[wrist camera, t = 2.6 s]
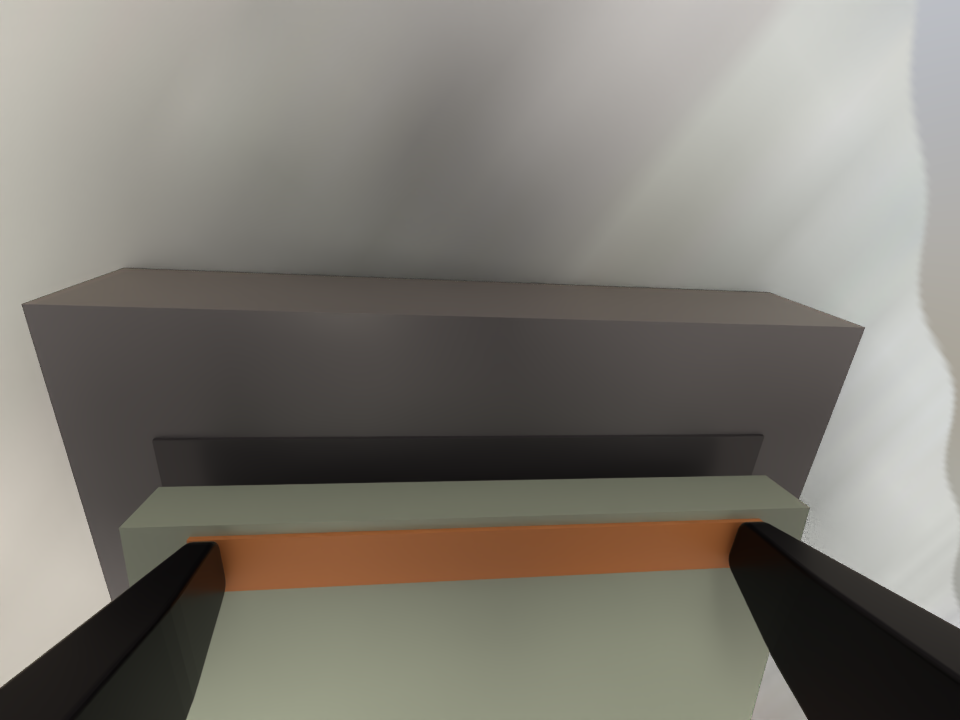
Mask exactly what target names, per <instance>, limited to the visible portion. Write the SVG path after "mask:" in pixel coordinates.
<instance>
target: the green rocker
mask: <svg viewBox="0 0 960 720" xmlns="http://www.w3.org/2000/svg"><path fill="white" fill-rule="evenodd" d="M809 509H810V507H808V506H807V505H806V504H804V503H803V502H802V501H800V500H799V499H797V498H796V497H795V496H793V495H792V494H791V493H789V492H788V491H787V490H785V489H784V488H782V487H781V486H780V485H778V484H777V483H776V482H774V481H773V480H772V479H770V478H769V477H767V476H766V475H754V476H702V477H650V478H598V479H547V480H495V481H443V482H391V483H339V484H287V485H235V486H183V487H158V488H157V489H156V490H155V491H154V492H153V493H152V494H151V495H150V496H149V497H148V498H147V500H146V501H145V502H144V503H143V504H142V505H141V506H140V507H139V508H138V509H137V510H136V511H135V512H134V513H133V514H132V515H131V516H130V517H129V518H128V519H127V520H126V521H125V522H124V523H123V524H122V525H121V526H120V527H119V531H120V537H121V542H122V548H123V553H124V559H125V564H126V570H127V575H128V581H129V586H130V587H131V586H132V585H133V584H135V583H136V582H137V581H138V580H140V579H141V578H142V577H144V576H145V575H146V574H147V573H149V572H150V571H151V570H153V569H154V568H155V567H157V566H158V565H159V564H160V563H162V562H163V561H164V560H166V559H167V558H168V557H169V556H171V555H172V554H173V553H175V552H176V551H177V550H178V549H180V548H181V547H182V546H184V545H185V544H187V543H190V542H203V541H214V542H216V543H217V544H218V545H219V548H220V553H221V558H222V563H223V569H224V574H225V580H226V586H225V593H224V597H223V601H222V604H221V608H220V611H219V615H218V618H217V622H216V625H215V629H214V632H213V636H212V639H211V642H210V646H209V649H208V653H207V656H206V660H205V663H204V667H203V670H202V674H201V677H200V681H199V684H198V687H197V691H196V694H195V697H194V700H193V703H192V705H191V708H190V711H189V714H188V716H187V719H186V720H751V717H752V713H753V709H754V706H755V702H756V699H757V695H758V691H759V688H760V684H761V681H762V677H763V674H764V670H765V666H766V663H767V659H768V656H769V650H768V648H767V646H766V644H765V642H764V640H763V638H762V636H761V634H760V631H759V629H758V627H757V625H756V623H755V621H754V619H753V617H752V614H751V612H750V610H749V608H748V606H747V604H746V602H745V600H744V597H743V595H742V593H741V591H740V589H739V587H738V585H737V583H736V580H735V578H734V576H733V574H732V572H731V569H730V566H729V553H730V550H731V547H732V545H733V542H734V539H735V536H736V533H737V530H738V528H739V526H740V525H741V524H742V523H744V522H760V521H761V522H766V523H769V524H771V525H773V526H774V527H776V528H778V529H780V530H782V531H783V532H785V533H787V534H789V535H791V536H792V537H794V538H796V539H798V540H800V541H801V537H802V534H803V530H804V526H805V523H806V519H807V516H808V512H809Z"/></svg>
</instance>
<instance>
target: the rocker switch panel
mask: <svg viewBox="0 0 960 720" xmlns="http://www.w3.org/2000/svg"><path fill="white" fill-rule="evenodd" d="M22 307H23V311H24V314H25V317H26V321H27V324H28V327H29V330H30V334H31V337H32V340H33V344H34V347H35V350H36V354H37V357H38V360H39V363H40V367H41V370H42V373H43V377H44V380H45V383H46V387H47V390H48V393H49V396H50V400H51V403H52V406H53V410H54V413H55V416H56V420H57V423H58V426H59V429H60V433H61V436H62V439H63V443H64V446H65V449H66V453H67V456H68V459H69V462H70V466H71V469H72V472H73V476H74V479H75V482H76V486H77V489H78V492H79V495H80V499H81V502H82V505H83V509H84V512H85V515H86V519H87V522H88V525H89V528H90V532H91V535H92V538H93V542H94V545H95V548H96V551H97V555H98V558H99V561H100V565H101V568H102V571H103V575H104V578H105V581H106V584H107V588H108V591H109V594H110V598H111V601H113V600H114V599H115V598H117V597H118V596H119V595H120V594H122V593H123V592H124V591H126V590H127V589H128V588H129V587H130V586H129V581H128V575H127V570H126V564H125V559H124V553H123V548H122V542H121V537H120V531H119V527H120V526H121V525H122V524H123V523H124V522H125V521H126V520H127V519H128V518H129V517H130V516H131V515H132V514H133V513H134V512H135V511H136V510H137V509H138V508H139V507H140V506H141V505H142V504H143V503H144V502H145V501H146V500H147V498H148V497H149V496H150V495H151V494H152V493H153V492H154V491H155V490H156V489H157V488H158V487H183V486H235V485H287V484H339V483H391V482H443V481H495V480H547V479H598V478H650V477H702V476H754V475H766V476H767V477H769V478H770V479H772V480H773V481H774V482H776V483H777V484H778V485H780V486H781V487H782V488H784V489H785V490H787V491H788V492H789V493H791V494H792V495H793V496H795V497H796V498H797V499H799V497H800V495H801V492H802V490H803V487H804V484H805V482H806V479H807V477H808V474H809V471H810V469H811V466H812V464H813V461H814V458H815V456H816V453H817V451H818V448H819V446H820V443H821V440H822V438H823V435H824V433H825V430H826V427H827V425H828V422H829V420H830V417H831V414H832V412H833V409H834V407H835V404H836V401H837V399H838V396H839V394H840V391H841V389H842V386H843V383H844V381H845V378H846V376H847V373H848V370H849V368H850V365H851V363H852V360H853V357H854V355H855V352H856V350H857V347H858V344H859V342H860V339H861V337H862V334H863V331H864V329H865V327H862V326H860V325H857V324H854V323H851V322H849V321H846V320H843V319H840V318H838V317H835V316H832V315H830V314H827V313H824V312H821V311H819V310H816V309H813V308H811V307H808V306H805V305H802V304H800V303H797V302H794V301H791V300H789V299H786V298H783V297H781V296H778V295H775V294H772V293H770V292H745V291H718V290H692V289H666V288H639V287H613V286H586V285H560V284H534V283H507V282H481V281H455V280H428V279H402V278H376V277H349V276H323V275H296V274H270V273H244V272H217V271H191V270H165V269H138V268H122V269H119V270H116V271H113V272H110V273H108V274H105V275H102V276H99V277H96V278H94V279H91V280H88V281H85V282H82V283H79V284H77V285H74V286H71V287H68V288H65V289H63V290H60V291H57V292H54V293H51V294H48V295H46V296H43V297H40V298H37V299H34V300H32V301H29V302H26V303H23V304H22Z"/></svg>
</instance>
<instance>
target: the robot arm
mask: <svg viewBox="0 0 960 720" xmlns="http://www.w3.org/2000/svg"><path fill="white" fill-rule="evenodd" d="M729 566H730V569H731V572H732V574H733V576H734V578H735V580H736V583H737V585H738V587H739V589H740V591H741V593H742V595H743V597H744V600H745V602H746V604H747V606H748V608H749V610H750V612H751V614H752V617H753V619H754V621H755V623H756V625H757V627H758V629H759V631H760V634H761V636H762V638H763V640H764V642H765V644H766V646H767V648H768V650H769V652H770V654H771V656H772V658H773V659H774V661H775V663H776V665H777V667H778V669H779V670H780V672H781V674H782V675H783V677H784V679H785V681H786V682H787V684H788V686H789V688H790V689H791V691H792V693H793V695H794V696H795V698H796V700H797V701H798V703H799V705H800V707H801V708H802V710H803V712H804V714H805V715H806V717H807V719H808V720H960V629H959V628H957V627H955V626H954V625H952V624H950V623H948V622H946V621H945V620H943V619H941V618H939V617H937V616H936V615H934V614H932V613H930V612H928V611H926V610H925V609H923V608H921V607H919V606H917V605H916V604H914V603H912V602H910V601H908V600H907V599H905V598H903V597H901V596H899V595H897V594H896V593H894V592H892V591H890V590H888V589H887V588H885V587H883V586H881V585H879V584H878V583H876V582H874V581H872V580H870V579H868V578H867V577H865V576H863V575H861V574H859V573H858V572H856V571H854V570H852V569H850V568H849V567H847V566H845V565H843V564H841V563H840V562H838V561H836V560H834V559H832V558H830V557H829V556H827V555H825V554H823V553H821V552H820V551H818V550H816V549H814V548H812V547H811V546H809V545H807V544H805V543H803V542H802V541H800V540H798V539H796V538H794V537H792V536H791V535H789V534H787V533H785V532H783V531H782V530H780V529H778V528H776V527H774V526H773V525H771V524H769V523H766V522H761V521H760V522H744V523H742V524H741V525H740V526H739V528H738V530H737V533H736V536H735V539H734V542H733V545H732V547H731V550H730V553H729ZM225 586H226V580H225V574H224V569H223V563H222V558H221V553H220V548H219V545H218V544H217V543H216V542H214V541H203V542H190V543H187V544H185V545H184V546H182V547H181V548H180V549H178V550H177V551H176V552H175V553H173V554H172V555H171V556H169V557H168V558H167V559H166V560H164V561H163V562H162V563H160V564H159V565H158V566H157V567H155V568H154V569H153V570H151V571H150V572H149V573H147V574H146V575H145V576H144V577H142V578H141V579H140V580H138V581H137V582H136V583H135V584H133V585H132V586H131V587H129V588H128V589H127V590H126V591H124V592H123V593H122V594H120V595H119V596H118V597H117V598H115V599H114V600H113V601H111V602H110V603H109V604H108V605H106V606H105V607H104V608H102V609H101V610H100V611H99V612H97V613H96V614H95V615H93V616H92V617H91V618H90V619H88V620H87V621H86V622H84V623H83V624H82V625H81V626H79V627H78V628H77V629H75V630H74V631H73V632H71V633H70V634H69V635H68V636H66V637H65V638H64V639H62V640H61V641H60V642H59V643H57V644H56V645H55V646H53V647H52V648H51V649H50V650H48V651H47V652H46V653H44V654H43V655H42V656H41V657H39V658H38V659H37V660H35V661H34V662H33V663H32V664H30V665H29V666H28V667H26V668H25V669H24V670H23V671H21V672H20V673H19V674H17V675H16V676H15V677H14V678H12V679H11V680H10V681H8V682H7V683H6V684H4V685H3V686H2V687H1V688H0V720H186V719H187V716H188V714H189V711H190V708H191V705H192V703H193V700H194V697H195V694H196V691H197V687H198V684H199V681H200V677H201V674H202V670H203V667H204V663H205V660H206V656H207V653H208V649H209V646H210V642H211V639H212V636H213V632H214V629H215V625H216V622H217V618H218V615H219V611H220V608H221V604H222V601H223V597H224V593H225Z"/></svg>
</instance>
